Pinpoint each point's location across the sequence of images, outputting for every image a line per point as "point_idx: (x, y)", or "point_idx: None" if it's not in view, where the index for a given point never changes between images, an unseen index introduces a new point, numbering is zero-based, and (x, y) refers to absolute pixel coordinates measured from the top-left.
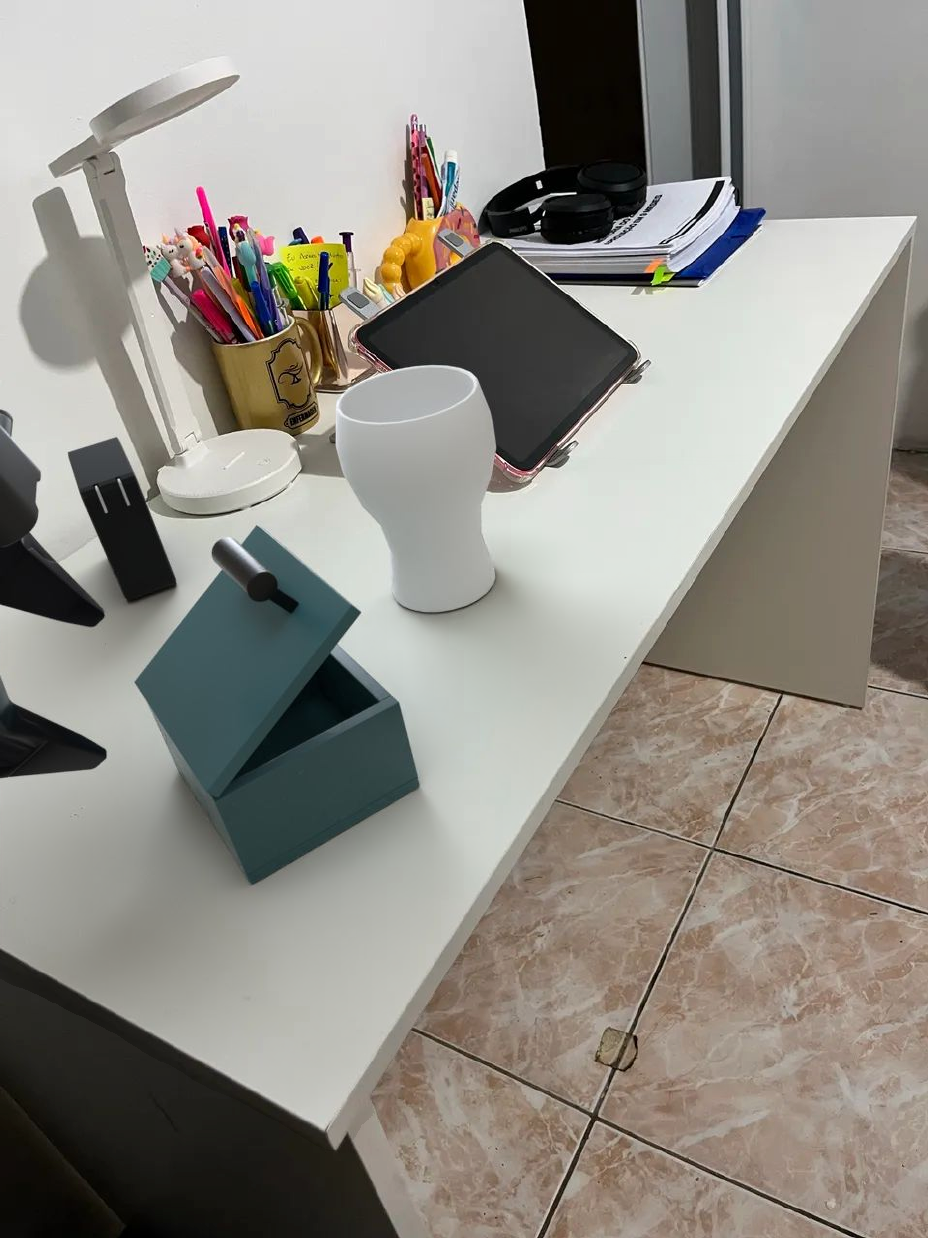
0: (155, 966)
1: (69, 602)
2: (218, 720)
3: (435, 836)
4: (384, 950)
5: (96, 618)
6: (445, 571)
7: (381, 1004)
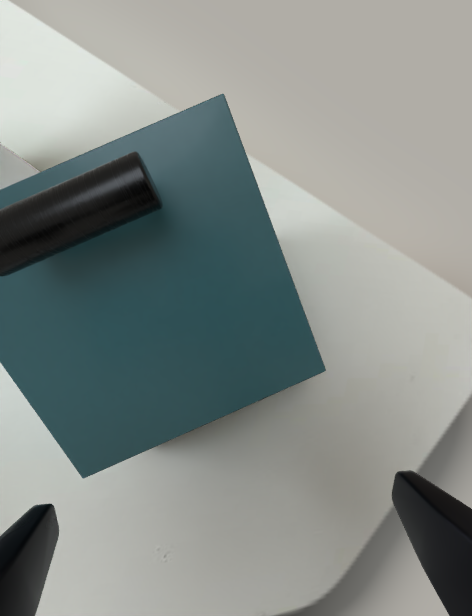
0: (369, 455)
1: (7, 601)
2: (245, 345)
3: (294, 239)
4: (388, 280)
5: (51, 523)
6: (16, 176)
7: (432, 285)
